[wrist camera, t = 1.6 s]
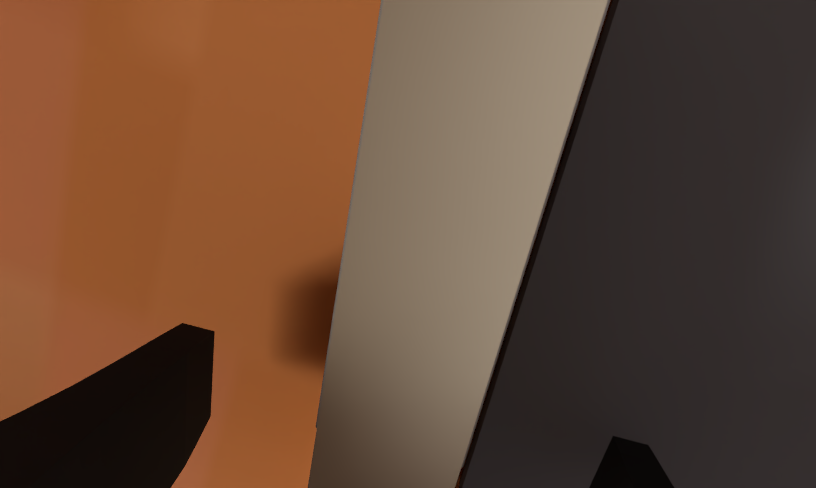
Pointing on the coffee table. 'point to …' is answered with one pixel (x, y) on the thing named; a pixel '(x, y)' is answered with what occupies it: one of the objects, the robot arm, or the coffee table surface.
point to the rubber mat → (673, 262)
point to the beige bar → (442, 226)
